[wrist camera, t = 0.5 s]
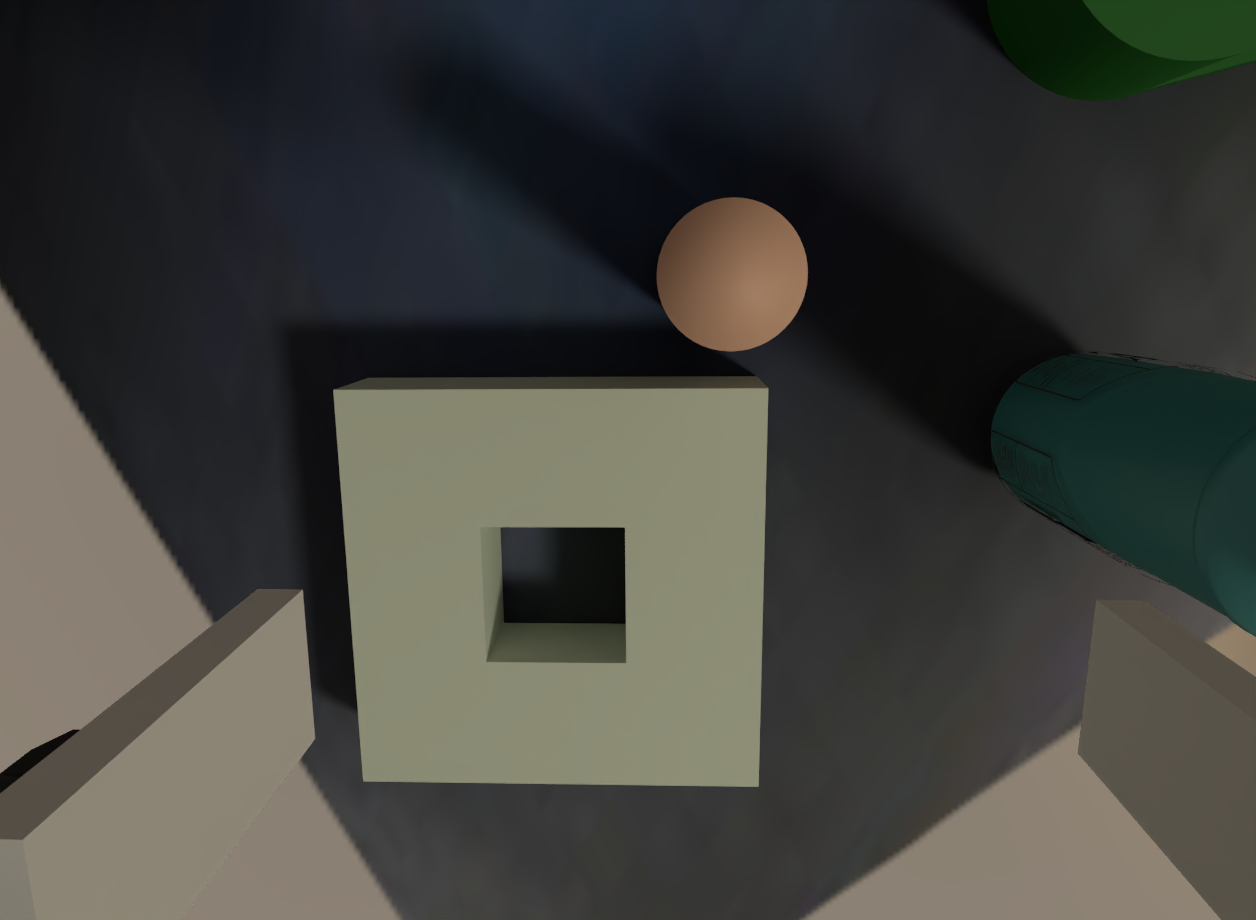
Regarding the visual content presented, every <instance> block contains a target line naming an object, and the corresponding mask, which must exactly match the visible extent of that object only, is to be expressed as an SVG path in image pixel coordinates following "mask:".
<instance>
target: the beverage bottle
mask: <svg viewBox="0 0 1256 920" xmlns="http://www.w3.org/2000/svg"><path fill="white" fill-rule="evenodd" d="M1075 351H1079V350H1075ZM1069 352H1071V351H1069ZM1082 352H1083V351H1082ZM1099 352H1100V351H1099ZM1064 353H1065V352H1064ZM1089 353H1095V354H1099V353H1096V352H1089ZM1111 354H1112V353H1111ZM1057 355H1064V356H1059V357H1056V358H1053V359H1050V360H1048V361H1045V362H1043V363H1041V364H1039V365H1037V364H1038V363H1037V364H1035V365H1037V366H1036V367H1034V368H1032V367H1033V366H1032V367H1031V368H1032V369H1031V368H1030V370H1029V369H1028V370H1029V371H1028V370H1027V372H1026V371H1025V372H1026V373H1025V372H1024V373H1025V374H1024V373H1023V374H1022V375H1021V376H1020V377H1019V378H1018V379H1017V380H1016V381H1015V382H1014V383H1013V384H1012V385H1011V387H1010V388H1009V389H1008V390H1007V391H1006V393H1005V394H1004V396H1003V397H1002V399H1001V401H1000V403H999V405H998V407H997V409H996V412H995V414H994V417H993V422H992V427H991V436H990V450H991V448H992V452H991V457H992V454H993V457H994V461H995V463H996V466H997V468H998V471H999V473H1000V475H1001V476H1002V478H1003V479H1002V478H1001V477H999V476H998V477H999V479H1002V480H1004V481H1005V483H1006V484H1007V485H1008V486H1009V488H1010V489H1011V490H1012V491H1013V492H1014V493H1015V494H1016V495H1017V497H1018V496H1019V497H1020V498H1021V499H1023V500H1024V501H1026V502H1027V503H1029V504H1031V505H1032V506H1034V507H1036V508H1037V509H1039V510H1041V511H1043V512H1044V513H1046V514H1048V516H1047V515H1045V514H1044V513H1042V512H1040V511H1039V510H1037V509H1035V508H1034V507H1032V506H1030V505H1028V504H1027V503H1025V502H1023V501H1022V500H1021V499H1020V498H1019V497H1018V498H1019V499H1020V500H1021V501H1022V502H1023V503H1024V504H1025V505H1026V506H1027V507H1029V509H1030V508H1031V509H1033V510H1034V511H1036V512H1038V514H1041V515H1043V516H1044V517H1046V518H1048V519H1049V521H1050V520H1051V521H1053V522H1054V523H1056V524H1058V525H1059V524H1060V525H1062V526H1063V527H1065V528H1067V529H1068V530H1070V532H1071V531H1072V532H1074V533H1075V535H1076V534H1077V535H1079V536H1080V537H1081V538H1084V539H1085V540H1086V541H1087V542H1088V541H1089V542H1092V543H1097V544H1099V545H1101V546H1102V547H1104V549H1107V550H1109V552H1108V554H1109V553H1110V551H1111V552H1112V554H1113V553H1114V554H1116V555H1118V556H1119V557H1121V558H1123V559H1122V560H1126V561H1128V562H1129V563H1131V564H1133V565H1134V566H1136V567H1138V569H1142V570H1144V571H1146V572H1148V573H1150V574H1152V575H1154V576H1156V577H1158V578H1160V579H1162V580H1164V581H1165V582H1167V583H1169V584H1168V585H1170V584H1171V586H1174V587H1176V588H1178V589H1179V590H1181V591H1183V592H1185V593H1186V594H1188V595H1190V596H1192V597H1193V598H1195V599H1197V600H1199V601H1200V602H1202V603H1204V604H1206V605H1207V606H1209V607H1211V608H1213V609H1214V610H1216V611H1218V612H1220V613H1221V614H1223V615H1225V616H1227V617H1228V618H1229V619H1230V620H1231V621H1232V622H1233V623H1235V624H1236V625H1238V626H1239V627H1240V628H1242V629H1243V630H1245V631H1246V632H1248V633H1250V634H1252V635H1254V636H1255V637H1256V381H1251V380H1245V379H1241V378H1238V377H1233V376H1228V375H1229V374H1227V373H1226V374H1227V375H1223V374H1221V373H1220V374H1217V373H1214V372H1213V373H1211V372H1212V371H1211V372H1206V371H1199V370H1196V369H1195V370H1192V369H1185V368H1179V367H1175V366H1165V365H1159V364H1152V363H1145V362H1138V361H1137V360H1140V359H1134V358H1144V357H1137V356H1132V357H1125V358H1131V359H1133V360H1135V361H1132V360H1128V359H1127V360H1125V359H1122V358H1121V359H1118V358H1112V357H1105V356H1098V355H1090V354H1070V355H1065V354H1062V353H1061V354H1057ZM1115 355H1118V356H1119V355H1121V356H1124V355H1123V354H1116V353H1114V356H1115ZM1054 356H1055V355H1054ZM1118 356H1117V357H1118ZM1121 356H1120V357H1121ZM1125 356H1130V355H1125ZM1052 357H1053V356H1052ZM1120 357H1119V358H1120ZM1049 358H1050V357H1049ZM1123 358H1124V357H1123ZM1047 359H1048V358H1047ZM1147 359H1151V360H1157V359H1152V358H1147ZM1045 360H1046V359H1045ZM1043 361H1044V360H1043ZM1160 361H1161V360H1160ZM1041 362H1042V361H1041ZM1165 362H1166V361H1165ZM1039 363H1040V362H1039ZM1178 363H1179V362H1178ZM1180 364H1181V363H1180ZM1185 364H1186V363H1185ZM1035 365H1034V366H1035ZM1183 365H1184V364H1183ZM1186 366H1187V365H1186ZM1195 366H1196V365H1195ZM1188 367H1189V366H1188ZM1193 367H1194V366H1193ZM1198 367H1200V366H1198ZM1203 367H1204V366H1203ZM1191 368H1192V367H1191ZM1201 368H1202V367H1201ZM1201 368H1199V369H1201ZM1206 368H1207V367H1206ZM1209 368H1210V367H1209ZM1209 368H1207V370H1208V369H1209ZM1213 368H1214V367H1213ZM1204 369H1205V368H1204ZM1220 369H1221V368H1220ZM1201 370H1202V369H1201ZM1210 370H1211V369H1210ZM1225 370H1226V369H1225ZM1213 371H1214V370H1213ZM1218 371H1220V370H1218ZM1216 372H1217V371H1216ZM1221 372H1222V371H1221ZM1223 373H1224V372H1223ZM1239 373H1240V372H1239ZM1242 374H1243V373H1242ZM1249 376H1250V375H1249ZM1252 377H1253V376H1252ZM1255 378H1256V377H1255ZM992 461H993V459H992ZM993 464H994V462H993ZM994 468H995V466H994ZM995 470H996V469H995ZM996 472H997V471H996ZM997 475H998V474H997ZM1001 482H1002V481H1001ZM1002 484H1003V483H1002ZM1004 487H1005V486H1004ZM1007 491H1008V490H1007ZM1008 492H1009V491H1008ZM1011 493H1012V492H1011ZM1012 494H1013V493H1012ZM1014 497H1016V496H1015V495H1014ZM1016 500H1017V499H1016ZM1020 500H1019V501H1020ZM1017 501H1018V500H1017ZM1021 501H1020V502H1021ZM1022 502H1021V503H1022ZM1033 510H1032V511H1033ZM1049 516H1050V517H1049ZM1052 517H1053V518H1052ZM1048 519H1047V520H1048ZM1053 519H1056V520H1058V521H1060V522H1058V521H1054V520H1053ZM1053 522H1052V523H1053ZM1058 525H1057V526H1058ZM1060 525H1059V526H1060ZM1063 529H1064V528H1063ZM1071 534H1073V533H1071ZM1077 535H1076V536H1077ZM1079 539H1080V538H1079ZM1084 539H1083V540H1084ZM1081 540H1082V539H1081ZM1083 540H1082V541H1083ZM1085 540H1084V542H1086V541H1085ZM1087 544H1088V543H1087ZM1089 545H1090V543H1089ZM1092 545H1093V544H1092ZM1092 545H1091V546H1092ZM1094 547H1095V546H1094ZM1102 547H1101V548H1102ZM1099 548H1100V547H1099ZM1101 548H1100V549H1099V551H1100V550H1101ZM1096 549H1097V550H1098V546H1097V548H1096ZM1102 551H1103V550H1102ZM1102 551H1101V552H1102ZM1102 553H1103V552H1102ZM1105 553H1106V552H1105ZM1106 554H1107V553H1106ZM1108 556H1109V555H1108ZM1114 556H1115V555H1113V557H1114ZM1118 556H1117V557H1118ZM1109 557H1111V556H1109ZM1117 557H1116V558H1117ZM1121 558H1120V559H1121ZM1113 559H1115V557H1114V558H1113ZM1118 560H1119V559H1118ZM1118 560H1116V561H1118ZM1122 560H1120V562H1121V561H1122ZM1120 562H1119V563H1120ZM1123 562H1124V561H1123ZM1126 564H1127V563H1126ZM1126 564H1125V565H1126ZM1122 565H1123V564H1122ZM1129 565H1130V564H1129ZM1129 565H1128V566H1129ZM1126 566H1127V565H1126ZM1130 567H1131V566H1130ZM1136 569H1137V568H1136ZM1131 570H1132V569H1131ZM1141 575H1142V574H1141ZM1143 576H1144V575H1143ZM1146 577H1147V576H1146ZM1148 578H1149V577H1148ZM1153 580H1154V579H1153ZM1156 581H1157V580H1156ZM1159 582H1160V581H1159ZM1162 583H1163V582H1162ZM1165 584H1166V583H1165Z"/></svg>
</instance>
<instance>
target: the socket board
mask: <svg viewBox="0 0 1256 920" xmlns="http://www.w3.org/2000/svg"><path fill="white" fill-rule="evenodd" d="M333 393H334V406H335V419H336V432H337V445H338V458H339V472H340V485H341V498H342V511H343V524H344V537H345V550H346V563H347V576H348V589H349V602H350V615H351V628H352V641H353V654H354V667H355V680H356V693H357V706H358V719H359V732H360V745H361V758H362V771H363V781H376V782H449V783H523V784H597V785H670V786H744V787H759V746H760V705H761V664H762V623H763V582H764V541H765V500H766V459H767V419H768V388H767V387H766V386H765V384H764V383H763V382H762V381H761V380H760V379H759V378H758V377H757V376H688V377H441V378H366V379H364V380H361V381H358V382H355V383H352V384H349V385H346V386H343V387H340V388H337V389H334V390H333ZM500 527H625V586H626V624H603V623H504V610H503V584H502V559H501V533H500Z"/></svg>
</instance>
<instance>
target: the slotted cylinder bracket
mask: <svg viewBox="0 0 1256 920" xmlns="http://www.w3.org/2000/svg"><path fill="white" fill-rule="evenodd" d="M987 7H988V12H989V16H990V20H991V23H992V26H993V29H994V32H995V34H996V36H997V38H998V40H999V42H1000V44H1001V46H1002V48H1003V49H1004V51H1005V52H1006V54H1007V56H1008V57H1009V58H1010V59H1011V61H1012V62H1013V63H1014V64H1015V66H1016V67H1017V68H1018V69H1019V70H1020V71H1021V72H1023V73H1024V74H1025V75H1026V76H1027V77H1028V78H1030V79H1031V80H1032V81H1034V82H1035V83H1037V84H1038V85H1040V86H1042V87H1043V88H1045V89H1047V90H1050V91H1052V92H1054V93H1056V94H1059V95H1063V96H1066V97H1069V98H1074V99H1080V100H1092V101H1098V100H1111V99H1117V98H1123V97H1127V96H1131V95H1134V94H1138V93H1142V92H1145V91H1149V90H1153V89H1157V88H1160V87H1164V86H1168V85H1171V84H1175V83H1179V82H1182V81H1186V80H1190V79H1193V78H1197V77H1201V76H1205V75H1208V74H1212V73H1216V72H1219V71H1223V70H1227V69H1230V68H1234V67H1238V66H1241V65H1245V64H1249V63H1253V62H1256V0H987Z"/></svg>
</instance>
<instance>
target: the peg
mask: <svg viewBox="0 0 1256 920" xmlns="http://www.w3.org/2000/svg"><path fill="white" fill-rule="evenodd" d="M807 279H808V265H807V259H806V254H805V250H804V247H803V244H802V242H801V240H800V238H799V236H798V234H797V232H796V231H795V229H794V228H793V226H792V225H791V224H790V223H789V222H788V220H787V219H785V218H784V217H783V216H782V215H781V214H780V213H779V212H777V211H776V210H774V209H773V208H771V207H769V206H767V205H765V204H763V203H761V202H758V201H755V200H751V199H746V198H736V197H731V198H722V199H717V200H713V201H710V202H707V203H704V204H702V205H700V206H698V207H697V208H695V209H693V210H692V211H690V212H689V213H687V214H686V215H685V216H684V217H683V218H682V219H681V220H680V221H679V222H678V223H677V224H676V225H675V226H674V227H673V229H672V230H671V232H670V233H669V235H668V236H667V238H666V240H665V242H664V244H663V246H662V249H661V252H660V255H659V260H658V265H657V287H658V293H659V297H660V300H661V303H662V306H663V308H664V310H665V312H666V314H667V316H668V317H669V319H670V320H671V322H672V323H673V324H674V325H675V326H676V328H677V329H678V330H679V331H680V332H682V333H683V334H684V335H685V336H686V337H688V338H689V339H691V340H692V341H694V342H696V343H698V344H700V345H702V346H704V347H707V348H710V349H715V350H720V351H741V350H746V349H751V348H754V347H757V346H759V345H762V344H764V343H766V342H768V341H769V340H771V339H772V338H774V337H775V336H777V335H778V334H779V333H780V332H781V331H783V330H784V329H785V328H786V326H787V325H788V324H789V323H790V322H791V321H792V319H793V318H794V316H795V315H796V313H797V311H798V310H799V308H800V306H801V304H802V301H803V298H804V295H805V291H806V287H807Z"/></svg>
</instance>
